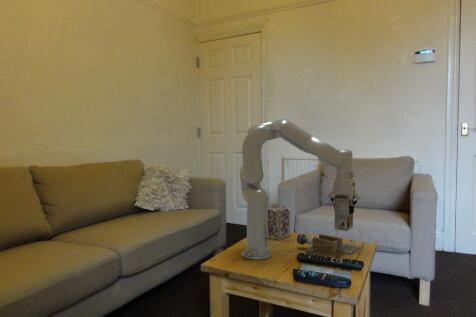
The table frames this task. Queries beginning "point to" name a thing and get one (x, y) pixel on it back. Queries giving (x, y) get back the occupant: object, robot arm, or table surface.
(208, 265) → the table surface
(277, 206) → the decorative jar
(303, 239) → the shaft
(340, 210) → the coffee box
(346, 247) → the spacer mat
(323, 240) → the brown open box
